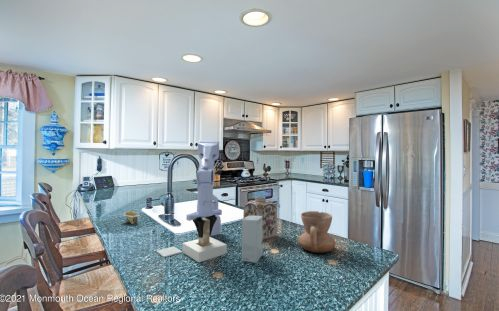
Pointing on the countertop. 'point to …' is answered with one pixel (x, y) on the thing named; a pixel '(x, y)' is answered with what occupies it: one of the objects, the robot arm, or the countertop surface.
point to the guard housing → (204, 249)
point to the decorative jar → (263, 215)
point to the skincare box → (252, 238)
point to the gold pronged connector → (131, 217)
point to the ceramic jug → (316, 232)
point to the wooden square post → (205, 233)
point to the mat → (168, 251)
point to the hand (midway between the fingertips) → (204, 236)
